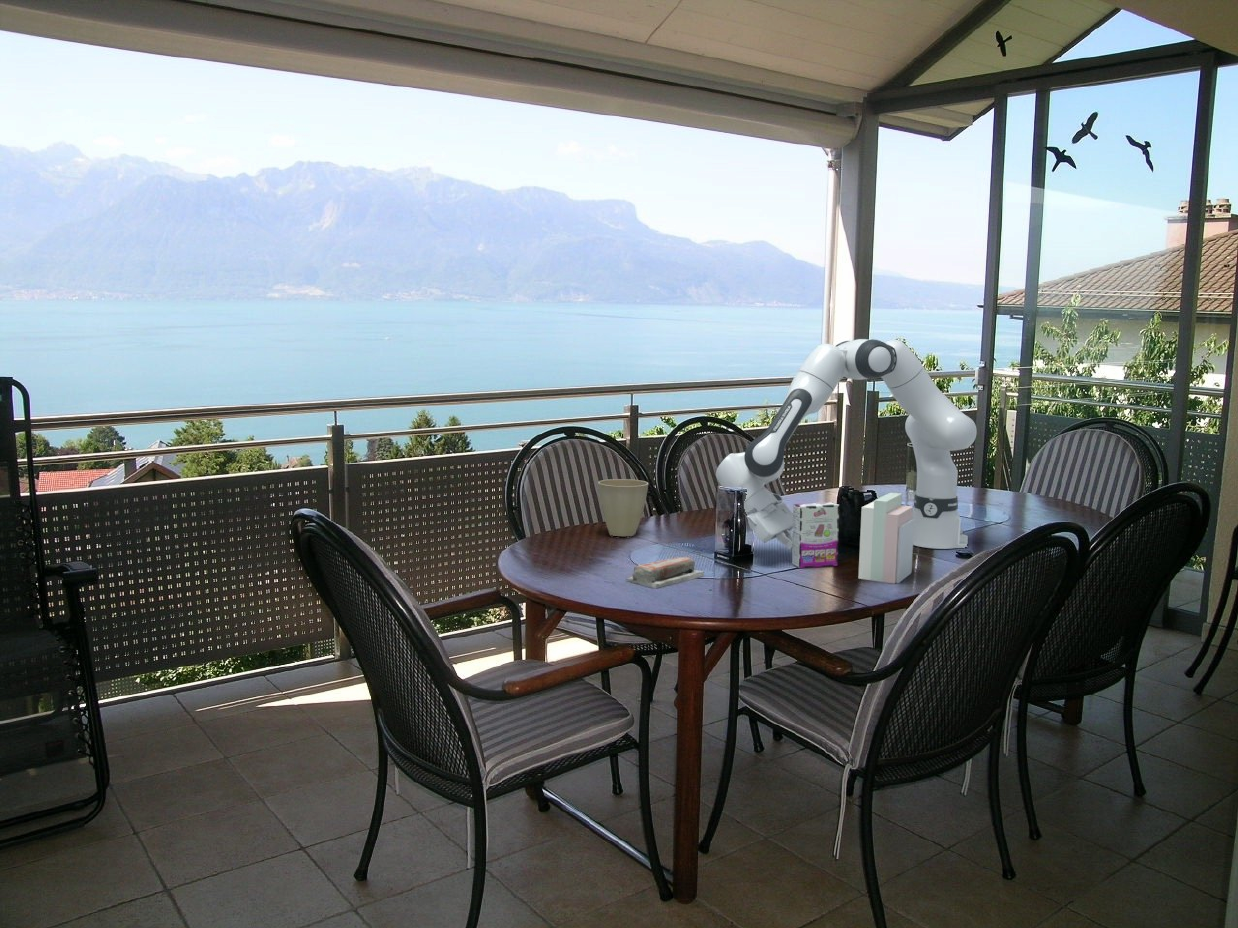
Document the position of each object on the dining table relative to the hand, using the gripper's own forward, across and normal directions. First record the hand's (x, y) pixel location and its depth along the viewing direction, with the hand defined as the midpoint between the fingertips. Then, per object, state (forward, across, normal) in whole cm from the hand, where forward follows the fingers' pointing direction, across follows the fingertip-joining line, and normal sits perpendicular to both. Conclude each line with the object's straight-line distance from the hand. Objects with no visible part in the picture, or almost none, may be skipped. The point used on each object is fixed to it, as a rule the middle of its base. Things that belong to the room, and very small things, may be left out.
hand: (793, 546), depth 256 cm
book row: (+20, 0, -14) cm, 25 cm away
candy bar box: (+7, 0, -1) cm, 7 cm away
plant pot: (-36, +4, +42) cm, 55 cm away
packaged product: (-11, -34, +17) cm, 39 cm away
